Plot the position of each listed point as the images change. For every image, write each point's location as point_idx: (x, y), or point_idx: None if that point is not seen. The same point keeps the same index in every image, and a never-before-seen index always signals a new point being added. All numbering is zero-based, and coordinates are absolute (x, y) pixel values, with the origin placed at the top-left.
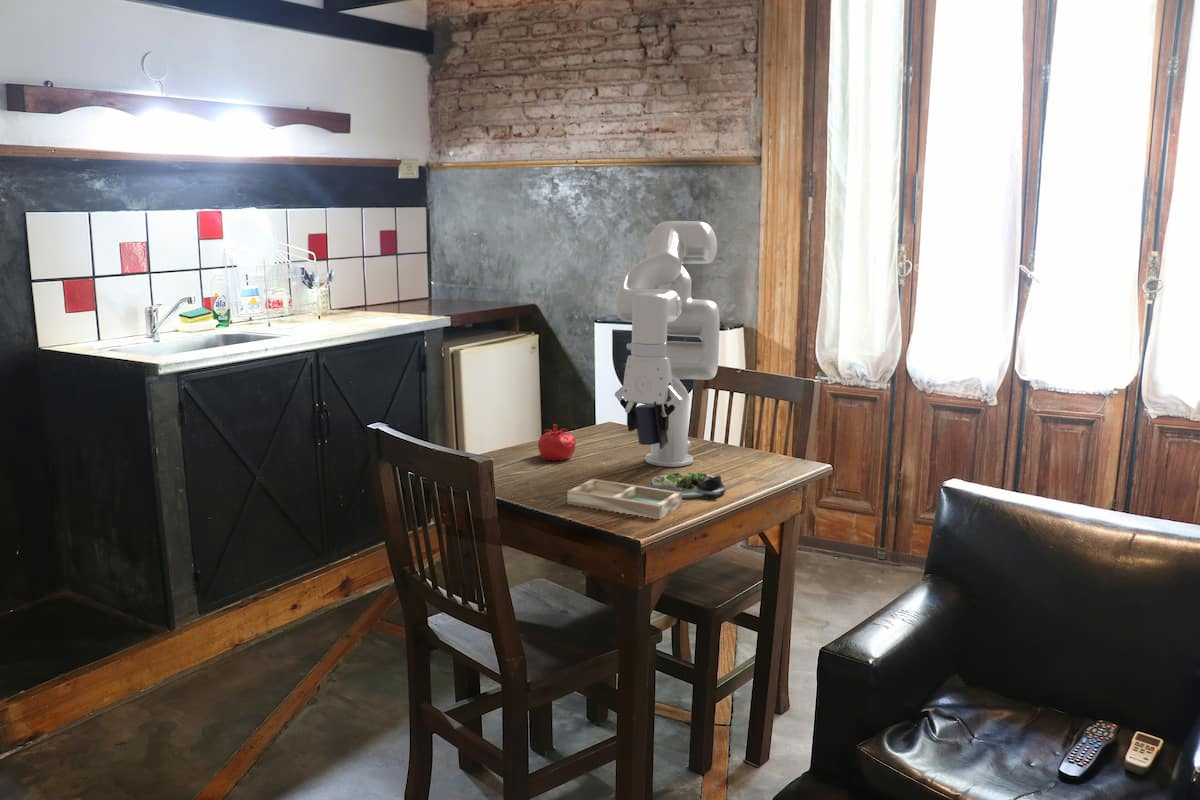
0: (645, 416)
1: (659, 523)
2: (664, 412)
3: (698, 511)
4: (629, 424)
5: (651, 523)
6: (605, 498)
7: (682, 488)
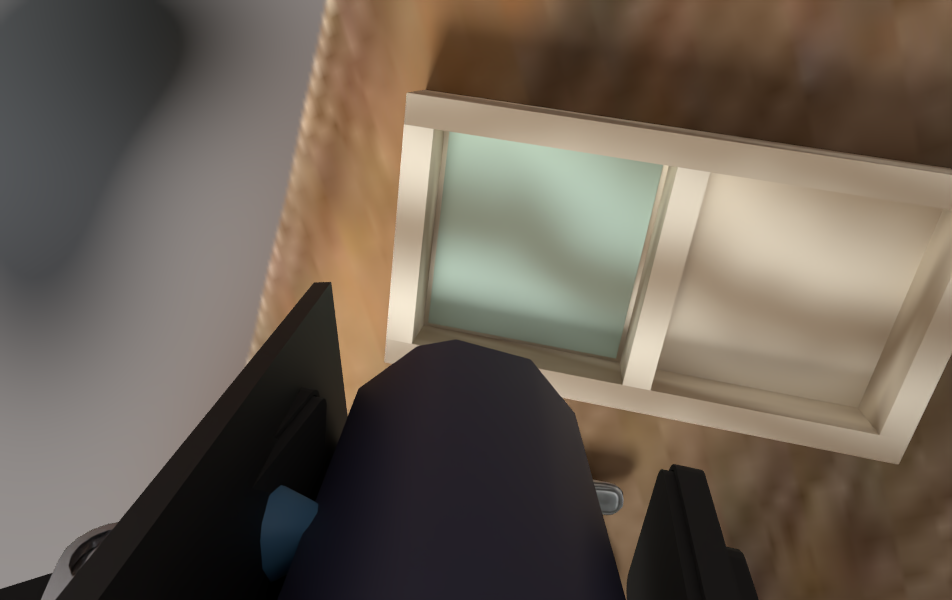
0: (422, 538)
1: (407, 34)
2: (68, 578)
3: (310, 279)
4: (698, 513)
5: (443, 17)
6: (748, 143)
7: None
